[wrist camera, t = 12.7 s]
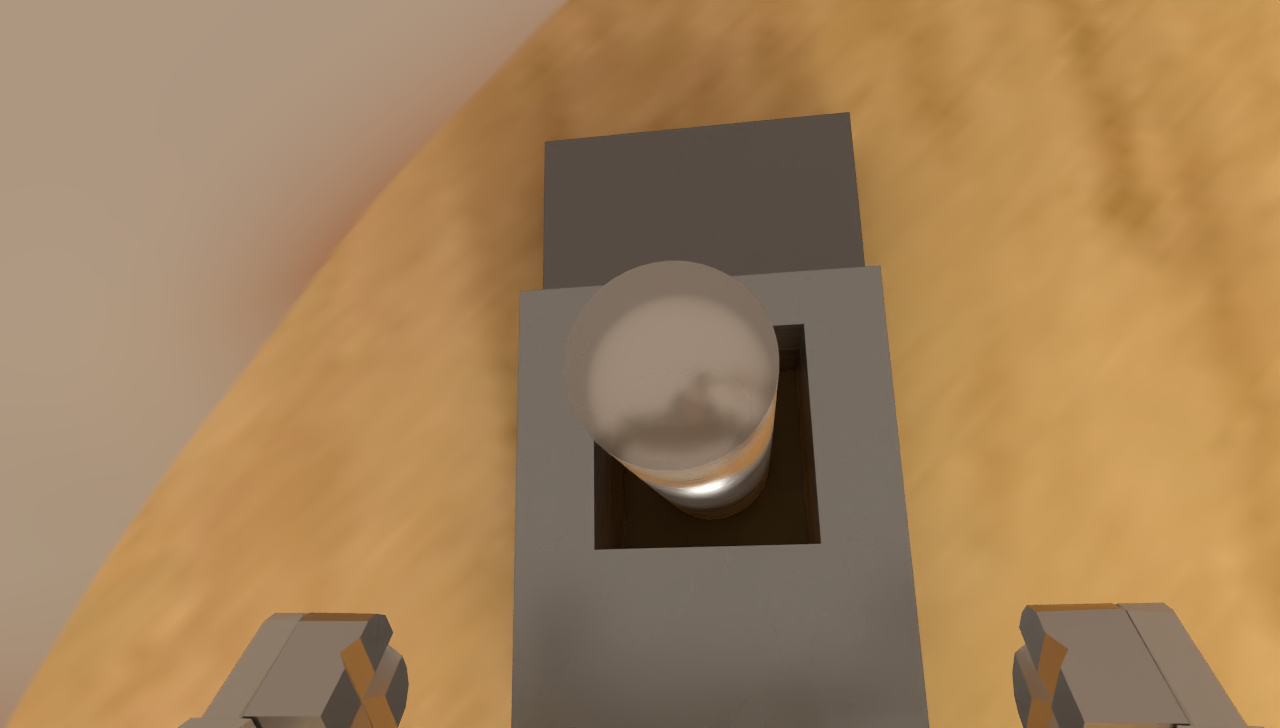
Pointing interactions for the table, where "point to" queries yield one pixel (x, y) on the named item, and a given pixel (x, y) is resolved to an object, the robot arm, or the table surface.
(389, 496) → the table surface
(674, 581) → the grey socket block
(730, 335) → the steel pin
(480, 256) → the table surface
